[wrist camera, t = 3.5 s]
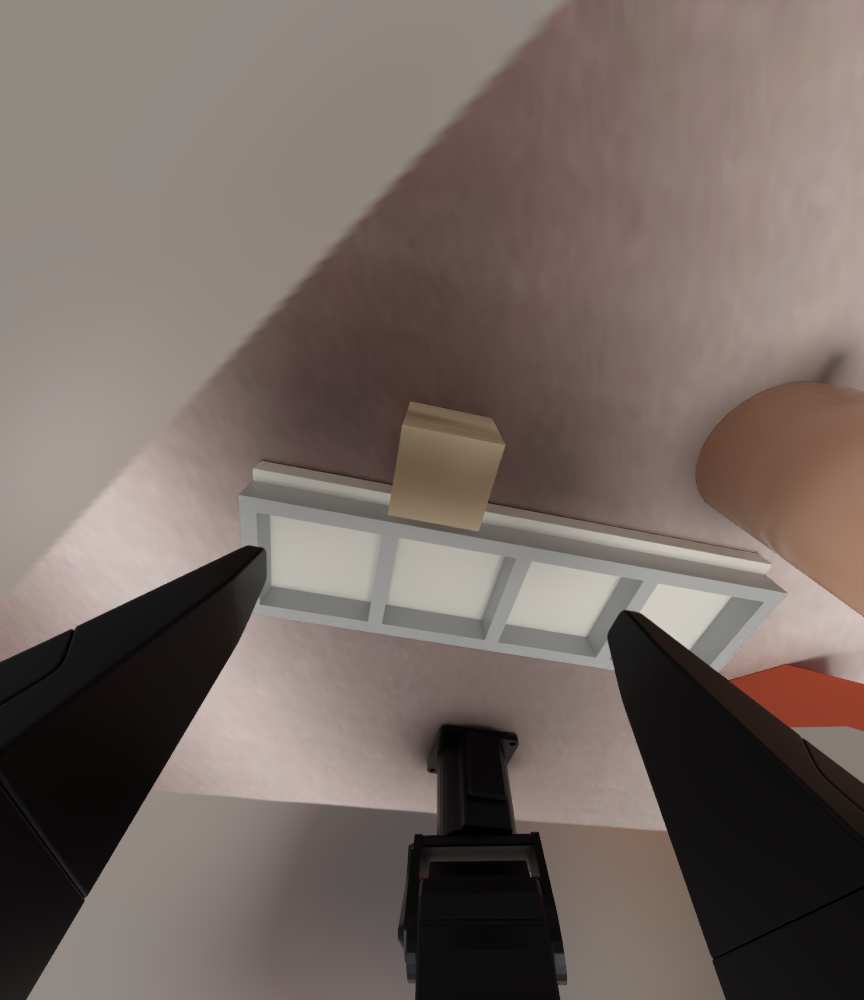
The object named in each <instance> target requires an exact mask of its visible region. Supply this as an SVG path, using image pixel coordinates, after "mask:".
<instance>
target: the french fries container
mask: <svg viewBox="0 0 864 1000" xmlns="http://www.w3.org/2000/svg"><path fill="white" fill-rule="evenodd" d="M729 681H730V682H731V683H733V684H734V685H735V686H737V687H738V688H739V689H740V690H742V691H743V692H744V693H746V694H747V695H748V696H750V697H751V698H752V699H753V700H755V701H756V702H757V703H759V704H760V705H761V706H763V707H764V708H765V709H767V710H768V711H769V712H770V713H772V714H773V715H774V716H776V717H777V718H778V719H780V720H781V721H782V722H783V723H785V724H786V725H787V726H789V727H790V728H791V729H793V730H794V731H795V732H796V733H798V734H799V735H800V736H801V738H804V739H806V740H807V741H808V742H810V743H811V744H812V745H814V746H815V747H816V748H817V749H819V750H820V751H821V752H823V753H824V754H825V755H827V756H828V757H829V758H831V759H832V760H833V761H834V762H836V763H837V764H838V765H840V766H841V767H842V768H844V769H845V770H846V771H848V772H849V773H850V774H852V775H853V776H854V777H856V778H857V779H858V780H860V781H861V782H862V783H864V684H861V683H857V682H853V681H849V680H845V679H841V678H837V677H833V676H830V675H826V674H822V673H818V672H814V671H810V670H806V669H802V668H798V667H794V666H790V665H782V666H779V667H775V668H772V669H768V670H765V671H761V672H758V673H754V674H750V675H747V676H743V677H740V678H736V679H733V680H729Z"/></svg>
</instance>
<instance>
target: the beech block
mask: <svg viewBox="0 0 864 1000" xmlns="http://www.w3.org/2000/svg"><path fill="white" fill-rule="evenodd" d="M504 448H505V443H504V441H503V439H502V437H501V435H500V433H499V431H498V429H497V427H496V425H495V423H494V421H493V418H489V417H484V416H479V415H475V414H470V413H465V412H460V411H455V410H450V409H445V408H441V407H436V406H431V405H426V404H421V403H416V402H411V401H410V404H409V407H408V409H407V412H406V415H405V418H404V421H403V424H402V430H401V436H400V442H399V448H398V454H397V461H396V467H395V473H394V479H393V485H392V491H391V498H390V504H389V510H388V515H391V516H397V517H402V518H408V519H413V520H419V521H424V522H430V523H435V524H441V525H446V526H452V527H457V528H463V529H468V530H474V531H479V529H480V526H481V522H482V519H483V516H484V513H485V509H486V506H487V503H488V500H489V497H490V493H491V490H492V487H493V484H494V481H495V477H496V474H497V471H498V468H499V464H500V461H501V458H502V455H503V452H504Z"/></svg>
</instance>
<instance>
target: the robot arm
mask: <svg viewBox="0 0 864 1000" xmlns="http://www.w3.org/2000/svg"><path fill="white" fill-rule="evenodd" d="M266 578H267V553H266V550H265V549H264V548H263V547H257V546H252V545H247V546H244V547H242V548H240V549H238V550H236V551H234V552H231V553H229V554H227V555H225V556H223V557H221V558H219V559H217V560H215V561H213V562H211V563H208V564H206V565H204V566H202V567H200V568H198V569H196V570H194V571H192V572H190V573H187V574H185V575H183V576H181V577H179V578H177V579H175V580H173V581H171V582H169V583H167V584H164V585H162V586H160V587H158V588H156V589H154V590H152V591H150V592H148V593H146V594H144V595H141V596H139V597H137V598H135V599H133V600H131V601H129V602H127V603H125V604H123V605H121V606H118V607H116V608H114V609H112V610H110V611H108V612H106V613H104V614H102V615H100V616H97V617H95V618H93V619H91V620H89V621H87V622H85V623H83V624H81V625H79V626H77V627H76V628H75V630H73V629H70V630H68V631H66V632H64V633H62V634H59V635H57V636H55V637H53V638H51V639H49V640H47V641H45V642H43V643H40V644H38V645H36V646H34V647H32V648H30V649H27V650H25V651H23V652H21V653H19V654H17V655H14V656H12V657H10V658H8V659H6V660H4V661H1V662H0V1000H26V999H27V997H28V996H29V994H30V992H31V991H32V989H33V987H34V986H35V984H36V982H37V981H38V979H39V977H40V976H41V974H42V972H43V970H44V969H45V967H46V965H47V964H48V962H49V960H50V959H51V957H52V955H53V954H54V952H55V950H56V949H57V947H58V945H59V944H60V942H61V940H62V939H63V937H64V935H65V933H66V932H67V930H68V928H69V927H70V925H71V923H72V922H73V920H74V918H75V916H76V915H77V913H78V912H79V910H80V908H81V907H82V905H83V903H84V901H85V899H84V898H85V897H87V896H88V894H89V893H90V891H91V889H92V887H93V886H94V884H95V882H96V881H97V879H98V877H99V876H100V874H101V872H102V870H103V869H104V867H105V865H106V864H107V862H108V861H109V859H110V857H111V856H112V854H113V852H114V851H115V849H116V847H117V845H118V843H119V842H120V840H121V839H122V837H123V835H124V834H125V832H126V830H127V829H128V827H129V825H130V824H131V822H132V820H133V819H134V817H135V815H136V814H137V812H138V810H139V808H140V807H141V805H142V803H143V802H144V800H145V798H146V797H147V795H148V793H149V792H150V790H151V788H152V787H153V785H154V783H155V782H156V780H157V778H158V777H159V775H160V773H161V772H162V770H163V768H164V767H165V765H166V763H167V762H168V760H169V758H170V756H171V755H172V753H173V751H174V750H175V748H176V746H177V745H178V743H179V741H180V740H181V738H182V736H183V735H184V733H185V731H186V730H187V728H188V726H189V725H190V723H191V721H192V720H193V718H194V716H195V714H196V713H197V711H198V709H199V708H200V706H201V704H202V703H203V701H204V699H205V698H206V696H207V694H208V693H209V691H210V689H211V688H212V686H213V684H214V683H215V681H216V679H217V678H218V676H219V674H220V672H221V671H222V669H223V667H224V666H225V664H226V662H227V661H228V659H229V657H230V656H231V654H232V652H233V651H234V649H235V647H236V645H237V643H238V642H239V640H240V637H241V635H242V633H243V631H244V629H245V627H246V625H247V622H248V620H249V618H250V616H251V614H252V611H253V609H254V607H255V605H256V603H257V600H258V598H259V596H260V594H261V592H262V589H263V587H264V585H265V582H266ZM607 641H608V645H609V650H610V654H611V658H612V662H613V666H614V670H615V674H616V678H617V682H618V686H619V690H620V694H621V698H622V701H623V704H624V707H625V710H626V713H627V716H628V719H629V722H630V725H631V728H632V730H633V733H634V736H635V739H636V742H637V745H638V748H639V751H640V753H641V756H642V759H643V762H644V765H645V768H646V771H647V774H648V776H649V779H650V782H651V785H652V788H653V791H654V794H655V797H656V799H657V802H658V805H659V808H660V811H661V814H662V817H663V820H664V822H665V825H666V828H667V831H668V834H669V837H670V840H671V842H672V845H673V848H674V851H675V854H676V857H677V860H678V863H679V866H680V868H681V871H682V874H683V877H684V880H685V883H686V886H687V888H688V891H689V894H690V897H691V900H692V903H693V906H694V909H695V912H696V914H697V917H698V920H699V923H700V926H701V929H702V931H703V935H704V937H705V940H706V943H707V946H708V949H709V952H710V955H711V957H712V958H713V964H714V967H715V970H716V973H717V976H718V979H719V981H720V984H721V987H722V990H723V993H724V995H725V999H726V1000H864V783H862V782H861V781H860V780H858V779H857V778H856V777H854V776H853V775H852V774H850V773H849V772H848V771H846V770H845V769H844V768H842V767H841V766H840V765H838V764H837V763H836V762H834V761H833V760H832V759H831V758H829V757H828V756H827V755H825V754H824V753H823V752H821V751H820V750H819V749H817V748H816V747H815V746H814V745H812V744H811V743H810V742H808V741H807V740H806V739H804V738H801V736H800V735H799V734H798V733H796V732H795V731H794V730H793V729H791V728H790V727H789V726H787V725H786V724H785V723H783V722H782V721H781V720H780V719H778V718H777V717H776V716H774V715H773V714H772V713H770V712H769V711H768V710H767V709H765V708H764V707H763V706H761V705H760V704H759V703H757V702H756V701H755V700H753V699H752V698H751V697H750V696H748V695H747V694H746V693H744V692H743V691H742V690H740V689H739V688H738V687H737V686H735V685H734V684H733V683H731V682H730V681H729V680H727V679H726V678H725V677H724V676H722V675H721V674H720V673H718V672H717V671H716V670H714V669H713V668H712V667H711V666H709V665H708V664H707V663H705V662H704V661H703V660H701V659H700V658H699V657H697V656H696V655H695V654H694V653H692V652H691V651H690V650H688V649H687V648H686V647H684V646H683V645H682V644H681V643H679V642H678V641H677V640H675V639H674V638H673V637H671V636H670V635H669V634H668V633H666V632H665V631H664V630H662V629H661V628H660V627H658V626H657V625H656V624H655V623H653V622H652V621H651V620H649V619H648V618H647V617H645V616H644V615H643V614H641V613H639V612H636V611H630V610H623V611H621V612H620V613H619V614H618V616H617V618H616V619H615V621H614V623H613V624H612V626H611V627H610V629H609V631H608V634H607ZM518 745H519V742H518V738H517V736H514V735H508V734H500V733H493V732H486V731H479V730H471V729H464V728H457V727H450V726H443V727H441V728H440V731H439V733H438V736H437V739H436V742H435V744H434V747H433V750H432V753H431V755H430V758H429V761H428V764H427V771H428V772H430V773H435V774H437V835H427V836H423V834H415V839H414V843H413V844H411V845H409V849H408V865H407V877H406V885H405V891H404V897H403V902H402V909H401V915H400V921H399V927H398V941H399V943H400V944H401V946H402V948H403V950H404V952H405V962H406V968H407V980H408V983H416V994H415V998H416V999H415V1000H560V996H559V990H558V985H567V973H566V964H565V956H564V949H563V942H562V936H561V931H560V926H559V920H558V915H557V910H556V906H555V901H554V898H553V893H552V888H551V884H550V880H549V876H548V871H547V866H546V863H545V858H544V853H543V849H542V845H541V840H540V836H539V832H531V834H517V832H516V825H515V818H514V811H513V804H512V798H511V791H510V784H509V777H508V770H507V764H508V762H509V761H510V759H511V757H512V755H513V754H514V752H515V750H516V748H517V747H518ZM529 872H531V876H532V877H530V874H529Z"/></svg>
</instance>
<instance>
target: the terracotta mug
mask: <svg viewBox="0 0 864 1000" xmlns="http://www.w3.org/2000/svg"><path fill="white" fill-rule="evenodd" d="M696 484H697V488H698V491H699V493H700V495H701V496H702V498H703V499H704V501H705V502H706V503H708V504H709V505H710V506H711V507H712V508H714V509H715V510H717V511H718V512H719V513H721V514H722V515H723V516H725V517H726V518H728V519H729V520H730V521H732V522H733V523H734V524H736V525H737V526H739V527H740V528H741V529H743V530H744V531H746V532H747V533H748V534H750V535H751V536H752V537H754V538H755V539H757V540H758V541H759V542H761V543H762V544H764V545H765V546H766V547H768V548H769V549H770V550H772V551H773V552H775V553H776V554H777V555H779V556H780V557H782V558H783V559H784V560H786V561H787V562H788V563H790V564H791V565H793V566H794V567H795V568H797V569H798V570H799V571H801V572H802V573H804V574H805V575H806V576H808V577H809V578H811V579H812V580H813V581H815V582H816V583H817V584H819V585H820V586H822V587H823V588H824V589H826V590H827V591H829V592H830V593H831V594H833V595H834V596H835V597H837V598H838V599H840V600H841V601H842V602H844V603H845V604H847V605H848V606H849V607H851V608H852V609H853V610H855V611H856V612H858V613H859V614H860V615H862V616H863V617H864V391H860V390H855V389H850V388H845V387H839V386H834V385H829V384H824V383H818V382H793V383H787V384H783V385H779V386H776V387H773V388H770V389H767V390H765V391H763V392H761V393H759V394H757V395H755V396H753V397H751V398H750V399H748V400H746V401H745V402H743V403H742V404H741V405H739V406H738V407H736V408H735V409H734V410H733V411H731V412H730V413H729V414H728V415H727V416H726V417H725V418H724V419H723V420H722V421H721V422H720V423H719V424H718V425H717V426H716V428H715V429H714V430H713V431H712V433H711V434H710V436H709V437H708V439H707V440H706V442H705V444H704V446H703V448H702V450H701V452H700V455H699V458H698V461H697V466H696Z"/></svg>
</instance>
